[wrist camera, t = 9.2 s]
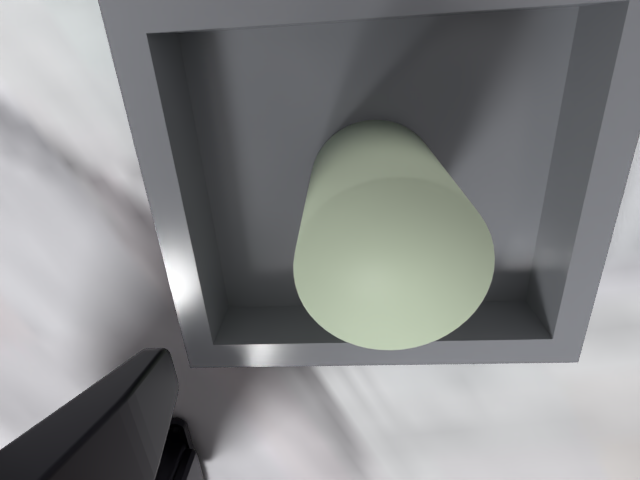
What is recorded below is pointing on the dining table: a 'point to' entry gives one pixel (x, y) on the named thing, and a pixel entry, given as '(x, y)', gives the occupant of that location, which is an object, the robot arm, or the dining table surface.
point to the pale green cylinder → (389, 241)
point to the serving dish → (391, 105)
